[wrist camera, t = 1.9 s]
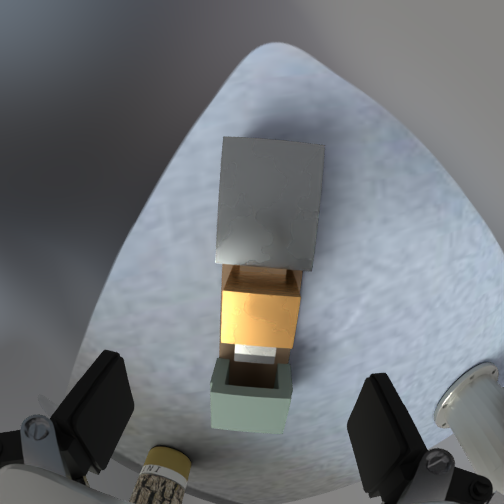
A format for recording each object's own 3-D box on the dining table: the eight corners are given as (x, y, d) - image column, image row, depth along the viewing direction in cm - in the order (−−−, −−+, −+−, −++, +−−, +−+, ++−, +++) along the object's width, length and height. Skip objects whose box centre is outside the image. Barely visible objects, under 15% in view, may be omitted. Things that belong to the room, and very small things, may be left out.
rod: (300, 166, 20) (316, 159, 14) (279, 343, 24) (283, 396, 17) (242, 161, 20) (231, 151, 14) (231, 339, 24) (220, 390, 17)
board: (312, 155, 21) (314, 153, 20) (280, 392, 27) (281, 399, 26) (231, 148, 22) (230, 146, 20) (220, 386, 28) (218, 394, 26)
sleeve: (312, 153, 20) (324, 145, 16) (302, 252, 22) (311, 271, 18) (232, 146, 20) (223, 136, 16) (225, 246, 22) (215, 263, 18)
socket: (290, 363, 25) (293, 398, 20) (282, 399, 26) (284, 433, 21) (217, 357, 25) (207, 391, 20) (216, 393, 26) (209, 427, 22)
